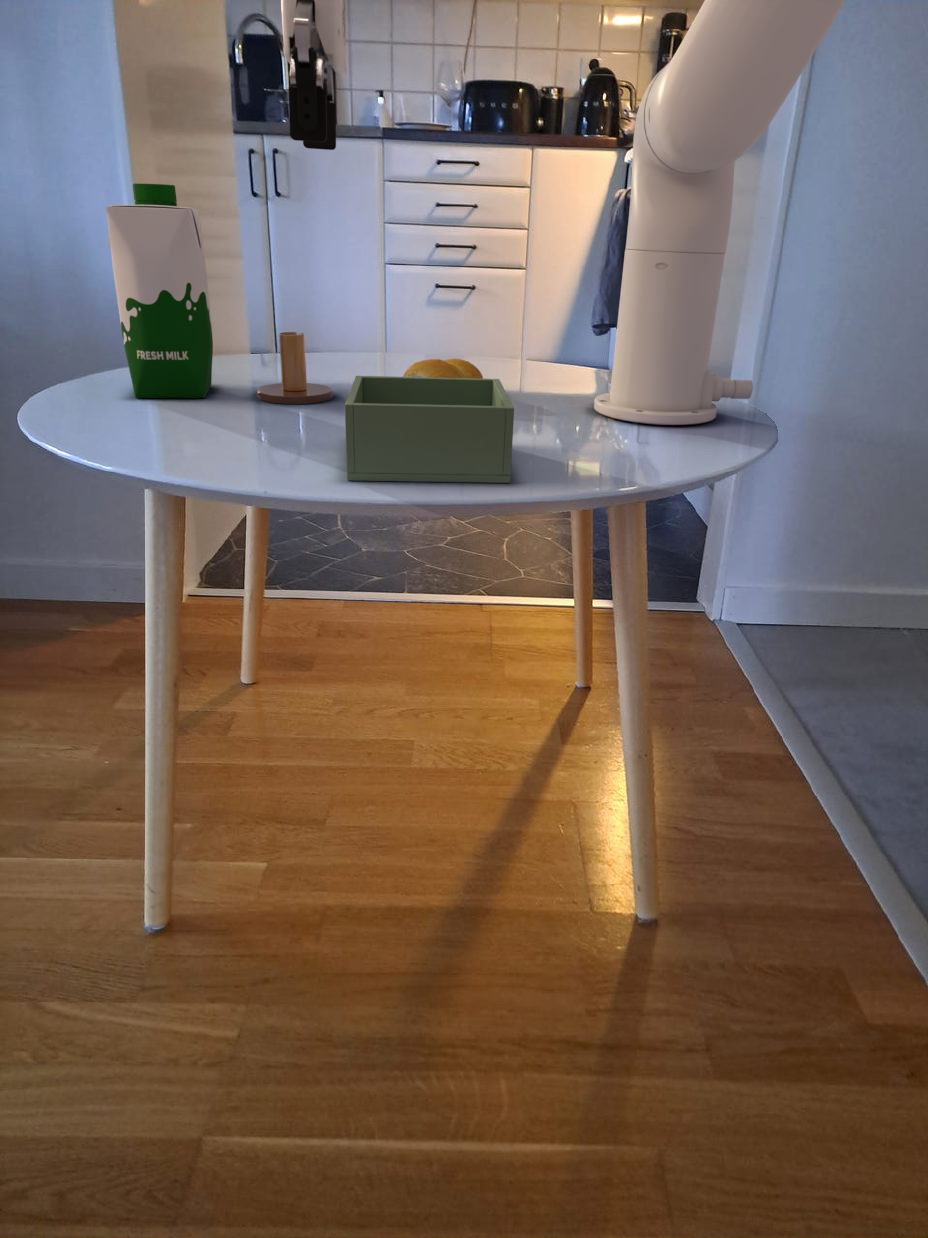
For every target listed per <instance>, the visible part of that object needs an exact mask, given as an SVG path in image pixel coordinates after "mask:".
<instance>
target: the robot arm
mask: <svg viewBox="0 0 928 1238" xmlns="http://www.w3.org/2000/svg"><path fill="white" fill-rule="evenodd" d="M845 2H846V0H704V1H703V2H702V5H701V7H700V8H699V11H698V12H697V14H696V15H695V17H694V19H693V21H692V23H691V24H690V26H689V29H688V30H687V32H686V34H685V36H684V38H683V39H682V41H681V42H680V44H679V46H678V48H677V49H676V52H675V53H674V54H673V56H672V58H671V59H670V60H669V61H668V62H667V63H666V64H665V65H664V66H663V68H661V69H660V70H659V71H658V72H657V73H656V75H655V76H654V77H653V78H652V80H651V81H650V83H649V84H648V86H647V87H646V89H645V91H644V93H643V96H642V97H641V100H640V103H639V106H638V109H637V113H636V118H635V122H634V129H633V139H632V161H631V183H630V184H631V185H630V198H629V210H628V219H627V220H628V223H627V231H626V242H625V248H624V257H623V267H622V278H621V285H620V296H619V304H618V312H617V313H618V315H617V322H616V323H617V324H616V334H615V342H614V344H615V345H614V352H613V353H614V354H613V362H612V370H611V371H612V372H611V382H610V391H609V392H605V393H602V394H599V395H597V396H596V397H595V398H594V402H593V409H594V410H595V412H597V413H599V414H601V415H603V416H606V417H609V418H611V419H615V420H621V421H626V422H632V423H638V424H639V423H640V424H648V425H660V426H661V425H663V426H686V425H699V424H704V423H709V422H711V421H714V419H716V418H717V413H718V406H717V404H715V403H713V402H719V401H720V400H722V399H723V398H726V399H732V400H749V399H750V398H751V396H752V394H753V388H754V387H753V385H754V384H753V381H752V380H751V379H732V378H731V377H728V378H727V377H722V376H720V375H719V376H717V373H715V372H713V371H712V370H710V369H708V368H709V362H710V354H711V348H712V342H713V335H714V330H715V329H714V328H715V322H716V315H717V308H718V303H719V295H720V288H721V282H722V275H723V270H724V263H725V258H726V257H725V255H726V253H727V247H728V241H729V233H730V226H731V219H732V211H733V210H732V209H733V195H734V178H735V177H734V176H735V165H736V161H737V160H738V159H741V157H743V156H744V155H745V154H746V153H747V152H749V150H750V149H752V148H753V146H754V145H756V144H757V142H758V141H759V140H760V138H761V137H762V136H763V134H764V133H765V131H766V130H767V129H768V127H769V125H770V124H771V122H772V121H773V119H774V118H775V116H776V115H777V113H778V111H779V110H780V109H781V107H782V105H783V104H784V102H785V100H786V99H787V98H788V96H789V94H790V93H791V91H792V90H793V88H794V86H795V85H796V83H797V81H798V80H799V78H800V76H801V75H802V74H803V72H804V70H805V68H806V67H807V65H808V64H809V62H810V60H811V58H812V57H813V55H814V54H815V52H816V50H817V49H818V47H819V46H820V44H821V42H822V41H823V39H824V37H825V36H826V34H827V32H828V31H829V29H830V28H831V26H832V25H833V22H834V21H835V19H836V18H837V16H838V14H839V12H840V11H841V9H842V8H843V5H844V4H845ZM280 7H281V9H280V10H281V25H282V26H281V27H282V41H283V51H284V57H285V59H286V61H287V63H288V64H289V84H290V86H288V108H289V109H288V113H289V136H290V139H292V140H293V141H297V142H298V141H300V142H302V145H303V146H304V148H305V149H312V150H325V151H326V150H327V151H334V150H335V149H336V148H337V109H336V108H337V104H336V103H335V89H334V88H335V87H334V75H333V73H336V74H337V76H338V78H339V79H344V78H345V77H346V76H347V73H348V70H347V43H346V42H347V37H346V36H347V35H346V34H347V32H346V0H280Z"/></svg>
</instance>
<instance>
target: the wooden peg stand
mask: <svg viewBox="0 0 928 1238" xmlns="http://www.w3.org/2000/svg"><path fill="white" fill-rule="evenodd" d="M278 338H279V339H278V342H279V357H280V358H279V359H280V375H281V382H279V383H270V384H265V385H261V386H259V387H257V388H256V398H257V399H258V400H260V401H263V402H266V403H271V404H280V405H307V404H318V403H323V402H327V401H331V400H332V399H333V397H334V396H333V395H334V394H333V388H332V387H330V386H328V385H324V384H320V383H319V384H318V383H311V382H308V381H307V362H306V361H307V360H306V341H305V333H304V332H298V331H297V332H296V331H287V332H286V331H285V332H280V333H278Z"/></svg>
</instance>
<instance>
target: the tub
mask: <svg viewBox="0 0 928 1238" xmlns="http://www.w3.org/2000/svg"><path fill="white" fill-rule="evenodd" d="M344 419H345V420H344V426H345V427H344V428H345V455H346V456H345V459H346V460H345V461H346V480H347V481H350V482H351V481H354V482H355V481H356V482H358V481H360V482H361V481H362V482H421V483H423V482H424V483H427V482H428V483H484V484H485V483H486V484H488V483H489V484H491V483H492V484H493V483H494V484H511V475H512V459H513V458H512V457H513V456H512V455H513V438H514V436H513V435H514V421H515V407H514V405H513V403H512V401H511V399H510V397H509V395H508V393H507V391H506V389H505V388H504V386H503V384H502V382H501V380H500V378H483V379H478V378H434V377H403V376H388V375H387V376H386V375H385V376H384V375H355V377H354V380H353V383H352V385H351V388H350V390H349V393H348V395H347V398H346V401H345V403H344Z"/></svg>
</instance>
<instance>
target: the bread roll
mask: <svg viewBox="0 0 928 1238" xmlns="http://www.w3.org/2000/svg"><path fill="white" fill-rule="evenodd" d="M402 377H434V378H478V379H484V376H483V374H482V372H481V370H480V369H479V368H478V367H477V366H475V365H474V364H473V363H471V362H470V361H467V360H464V359H461V358H449V359H448V358H447V359H444V360H443V359H439V358H432V359H424V360H420V361H417V362H414V363H412V364H411V365H410V366H409V367H408V368H407V369H406V370H405V372H404V374H403V376H402Z"/></svg>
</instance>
